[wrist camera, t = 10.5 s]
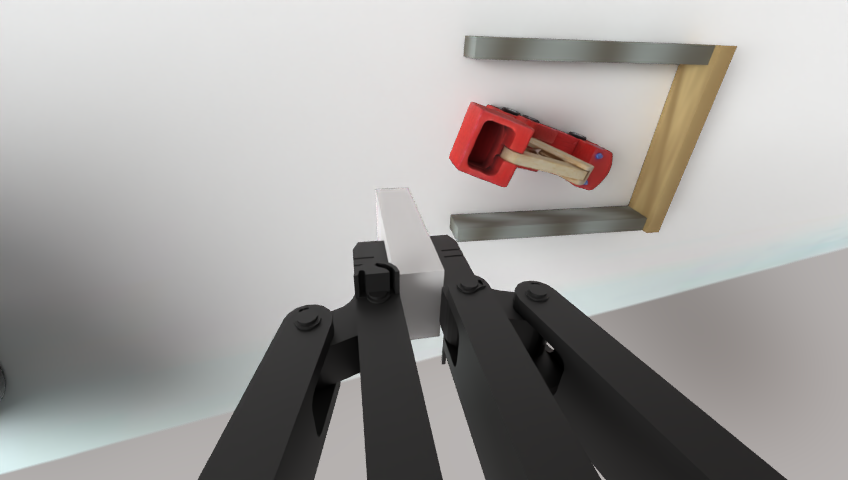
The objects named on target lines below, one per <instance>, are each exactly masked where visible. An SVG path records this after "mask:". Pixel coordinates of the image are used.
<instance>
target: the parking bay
mask: <svg viewBox="0 0 848 480" xmlns="http://www.w3.org/2000/svg"><path fill="white" fill-rule="evenodd" d="M736 48H737V46H721V45H702V44H675V43H648V42H620V41H593V40H566V39H539V38H512V37H484V36H465V44H464V56H465V57H469V58H472V59H493V60H533V61H572V62H611V63H650V64H679V66H678V69H677V71H676V74H675V77H674V80H673V83H672V85H671V88H670V91H669V94H668V97H667V99H666V102H665V105H664V108H663V111H662V113H661V116H660V119H659V122H658V125H657V127H656V130H655V133H654V136H653V138H652V141H651V144H650V147H649V150H648V152H647V155H646V158H645V161H644V164H643V166H642V169H641V172H640V175H639V178H638V180H637V183H636V186H635V189H634V192H633V194H632V197H631V200H630V203H629V205H628V206H616V207H596V208H577V209H557V210H537V211H518V212H498V213H478V214H459V215H451V218H450V229H451V231H452V233H453V235H454V237H455V239H456V241H457V242H466V241H481V240H497V239H513V238H528V237H544V236H559V235H575V234H590V233H606V232H621V231H637V230H643V231H645V232H646V233H653V232H659V230H660V227H661V225H662V223H663V220H664V218H665V216H666V213H667V211H668V208H669V206H670V204H671V201H672V199H673V197H674V194H675V192H676V190H677V187H678V185H679V182H680V180H681V178H682V175H683V173H684V171H685V168H686V166H687V164H688V161H689V159H690V156H691V154H692V152H693V149H694V147H695V145H696V142H697V140H698V138H699V135H700V133H701V130H702V128H703V126H704V123H705V121H706V119H707V116H708V114H709V112H710V109H711V107H712V104H713V102H714V100H715V97H716V95H717V93H718V90H719V88H720V86H721V83H722V81H723V78H724V76H725V74H726V71H727V69H728V67H729V64H730V62H731V60H732V57H733V55H734V52H735V50H736Z"/></svg>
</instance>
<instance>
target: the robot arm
mask: <svg viewBox="0 0 848 480" xmlns="http://www.w3.org/2000/svg"><path fill="white" fill-rule="evenodd" d="M376 213H377V239H378V241H371V242H358V243H357V245H356V246H355V248H354V249H353V260H354V286H355V295H354V297H353V299H352V300H351V301H350V302H349V303H348V304H347V305H345V306H344V307H341V308H339V309H337V310H334V311H331V312H330V310H329V309H327V308H326V307H324V306H320V305H305V306H302V307H299V308H296V309H295V310H293V311H292V312H290V313H289V314H288V315H287V316H286V317H285V319H284V320H283V322H282V324H281V326H280V327H279V329H278V331H277V333H276V335H275V337H274V339H273V340H272V342H271V344H270V346H269V348H268V350H267V352H266V353H265V355H264V357H263V359H262V361H261V363H260V365H259V366H258V368H257V370H256V372H255V374H254V376H253V378H252V380H251V381H250V383H249V385H248V387H247V389H246V391H245V393H244V394H243V396H242V398H241V400H240V402H239V404H238V406H237V407H236V409H235V411H234V413H233V415H232V417H231V419H230V420H229V422H228V424H227V426H226V428H225V430H224V432H223V433H222V435H221V437H220V439H219V441H218V443H217V445H216V447H215V449H214V450H213V452H212V454H211V456H210V458H209V460H208V461H207V463H206V465H205V467H204V469H203V471H202V473H201V474H200V476H199V478H198V480H314V478H315V474H316V471H317V467H318V463H319V460H320V456H321V453H322V449H323V445H324V442H325V438H326V435H327V431H328V427H329V424H330V420H331V417H332V413H333V409H334V406H335V402H336V398H337V395H338V391H339V388H340V381H342V380H344V379H346V378H349V377H351V376H353V375H355V374H358V373H360V375H361V390H362V406H363V422H364V436H365V452H366V468H367V480H443V479H442V475H441V471H440V466H439V461H438V457H437V453H436V449H435V444H434V440H433V435H432V431H431V427H430V422H429V418H428V414H427V410H426V405H425V401H424V397H423V392H422V388H421V384H420V379H419V375H418V371H417V366H416V362H415V358H414V353H413V349H412V345H411V340H413V339H421V338H429V337H436V336H439V335H440V325H441V328H442V331H443V334H444V337H443V349H442V364H445V361H446V358H447V361H448V364H449V367H450V370H451V373H452V376H453V380H454V383H455V385H456V389H457V392H458V395H459V398H460V401H461V404H462V408H463V410H464V414H465V417H466V420H467V423H468V426H469V429H470V433H471V436H472V439H473V442H474V445H475V448H476V451H477V454H478V457H479V460H480V464H481V467H482V470H483V473H484V476H485V479H486V480H601V478H600V477H599V475H598V473H597V471H596V470H595V468H594V466H595V467H596V469H597V470H598V471H599V472H600V473H601V475H602V476H603V477H604V478H605V479H606V480H787V479H786V478H784V477H783V476H782V475H781V474H780V473H778V472H777V471H776V470H775V469H773V468H772V467H771V466H770V465H769V464H767V463H766V462H765V461H764V460H763V459H761V458H760V457H759V456H758V455H756V454H755V453H754V452H753V451H751V450H750V449H749V448H748V447H746V446H745V445H744V444H743V443H742V442H740V441H739V440H738V439H737V438H736V437H734V436H733V435H732V434H731V433H729V432H728V431H727V430H726V429H725V428H723V427H722V426H721V425H720V424H718V423H717V422H716V421H715V420H714V419H712V418H711V417H710V416H709V415H707V414H706V413H705V412H704V411H703V410H701V409H700V408H699V407H698V406H696V405H695V404H694V403H693V402H691V401H690V400H689V399H687V397H685V396H684V395H683V394H682V393H680V392H679V391H678V390H677V389H676V388H674V387H673V386H672V385H671V384H669V383H668V382H667V381H666V380H665V379H663V378H662V377H661V376H660V375H658V374H657V373H656V372H655V371H654V370H652V369H651V368H650V367H649V366H647V365H646V364H645V363H644V362H643V361H641V360H640V359H639V358H638V357H636V356H635V355H634V354H633V353H631V352H630V351H629V350H628V349H626V348H625V347H624V346H623V345H622V344H620V343H619V342H618V341H617V340H615V339H614V338H613V337H612V336H611V335H610V334H608V333H607V332H606V331H605V330H603V329H602V328H601V327H600V326H598V325H597V324H596V323H595V322H593V321H592V320H591V319H590V318H589V317H587V316H586V315H585V314H584V313H583V312H581V311H580V310H579V309H578V308H576V307H575V306H574V305H573V304H572V303H570V302H569V301H568V300H567V299H565V298H564V297H563V296H562V295H561V294H559V293H558V292H557V291H556V290H554V289H553V288H552V287H550V286H548V285H547V284H544V283H541V282H537V281H525V282H522V283H520V284H518V285H517V287H516V288H515V292H507V291H499V290H494V289H491V288H490V286H489V284H488V283H487V282H486V281H485V280H484V279H482V278H480V277H479V276H475V275H474V273H473V272H472V270H471V268H470V266H469V264H468V262H467V261H466V259H465V257H464V256H463V253H462V251H461V250H460V248H459V246H458V244H457V242H456V241H455V240H454V239H452V238H451V237H449V236H448V235H440V236H429V234H428V231H427V229H426V227H425V224H424V222H423V220H422V217H421V215H420V213H419V210H418V208H417V206H416V204H415V201H414V199H413V197H412V194H411V192H410V190H409V188H390V189H376ZM547 342H548V343H549V344H550V345H551V346H552V347H553V348H554V350H552V349H551V348H550V347H549V346H548V345H547V344H546V343H547ZM4 391H5V380H4V376H3V373H2V371H1V369H0V401H1V399H2V397H3V395H4ZM591 462H592V463H591ZM593 465H594V466H593Z"/></svg>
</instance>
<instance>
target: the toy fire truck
mask: <svg viewBox="0 0 848 480" xmlns="http://www.w3.org/2000/svg"><path fill="white" fill-rule="evenodd" d="M612 157H613V156H612V153H611V152H610V151H608V150H606V149H604V148H602V147H599V146H598V145H597V144H594V143H592V142H589V141H587V140H586V137H584V136H581V135H579V134H576V133H573V132H569V134H567V133H565V132H562V131H560V130H557V129H554V128H551V127H549V126H546V125H543V124H539V121H538V120H536V119H533V118H531V117H528V116H526V115H522V116H520V113H518V112H516V111H514V110H511V109H508V108H504V107H503V108H502V110H501V109H499V108H497V107H494V106H492V105H489V104H488V105H487V106H486V107H485V106H483V105H480V104H477V103H475V102H471V103H470V105H469V107H468V110H467V113H466V115H465V117H464V121H463V123H462V126H461V128H460V131H459V133H458V136H457V138H456V140H455V143H454V145H453V148H452V151H451V152H450V156H449V159H450V160H451V161H452V163H453V164H454V165H455V167H456V168H457V169H458V170H460V171H462V172H465V173H467V174H470V175H472V176H474V177H477V178H480V179H482V180H485V181H488V182H491V183H493V184H496V185H498V186H501V187H507V185H508V183H509V181H510V179H511V178H512V176H513V174H514V171H515V169H516V168H517V167H518V168H523V169H527V170H531V171H535V172H537V171H538V170H541V171H545V172H548V173H552V174H555V175H558V176H560V177H562V178H564V179H565V180H566V181H568V182H570V183H571V184H573V185H574V186H576V187H579V188H583V189H586V190H593V189H594V188H595V187H597V186H598V185H599V184H600V183H601V182H602V181H603V180H604V178H605V177H606V176H607V174H608V173H609V171H610V168H611V165H612Z"/></svg>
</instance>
